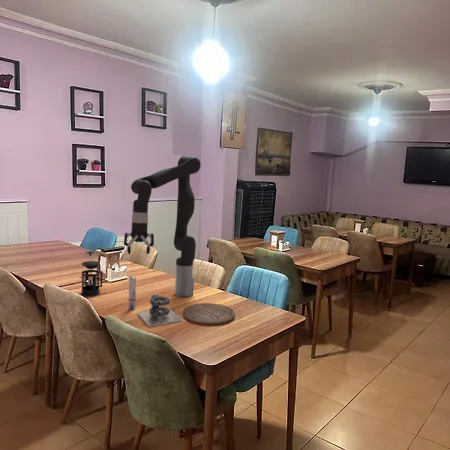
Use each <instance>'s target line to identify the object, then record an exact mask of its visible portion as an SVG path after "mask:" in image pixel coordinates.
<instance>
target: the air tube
mask: <svg viewBox="0 0 450 450" xmlns="http://www.w3.org/2000/svg"><path fill="white" fill-rule="evenodd" d="M136 289H137V277H136V276H134V275H133V276H128V310H129V311H134V310H136V303H137V301H136V300H137V295H136V292H137V290H136Z"/></svg>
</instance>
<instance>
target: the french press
mask: <svg viewBox="0 0 450 450" xmlns="http://www.w3.org/2000/svg"><path fill="white" fill-rule="evenodd" d="M86 254H89V255H88V256H89V260H87V261H82V262H81V265H82V267H85V268H86V270H82V271H81V294H80V295H82V296H83V297H90V298H91V297H96V296H98V295H100V288H101V287H103V270H100V269H99V270H97V269H98V268H99V265H100V262H99V261H95V260H92V254H95V252H94V251H87V252H86Z"/></svg>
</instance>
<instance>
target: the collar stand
mask: <svg viewBox="0 0 450 450" xmlns="http://www.w3.org/2000/svg"><path fill="white" fill-rule="evenodd" d="M170 301H171V299H170V298H169V297H167V296H160V295H159V294H152V295H151V297H150V299H149V304H150V305H151V308H150V309H149V310H145V311H138V312H136V313H137V316H138V317H139V319H140V320H141V321H143V323H145V325H146V326H147V327H148V328H151V327H157V326H161V325H162V326H163V325H169V324H175V323H180V322H183V318H181V317H180V316H179V315H178V314H176V312H174V311H173V310H172V309H171V308H170V307H167V306H168V305H169V304H170Z"/></svg>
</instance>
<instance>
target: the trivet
mask: <svg viewBox="0 0 450 450" xmlns="http://www.w3.org/2000/svg"><path fill="white" fill-rule="evenodd" d="M235 313H236V312H235V311H234V309H232V308H231V307H230V306H229V307H228V306H227V305H223V304H220V303H212V302H203V303H202V302H201V303H195V304H191V305H188V306H186V307H184V309H183V311H182V317H183V319H184V320H186V321H187V322H189V323H192V324H195V325H200V326H207V327H211V326H222V325H225V324H226V325H227V324H229V323H231V322H233V320H234V319H235V315H236V314H235Z"/></svg>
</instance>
